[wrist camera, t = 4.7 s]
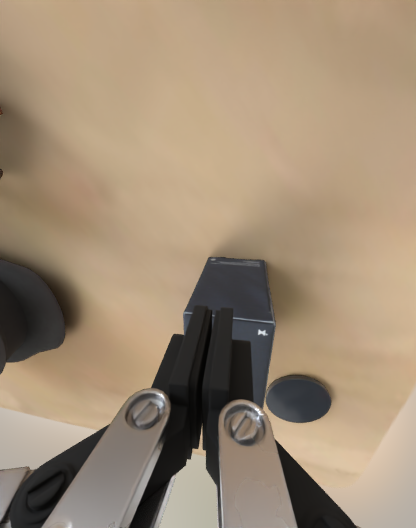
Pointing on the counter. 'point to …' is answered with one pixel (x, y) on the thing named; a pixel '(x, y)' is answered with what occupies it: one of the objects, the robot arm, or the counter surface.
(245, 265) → the small box
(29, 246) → the counter surface
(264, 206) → the counter surface
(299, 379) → the slate coaster
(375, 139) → the counter surface
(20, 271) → the casserole
